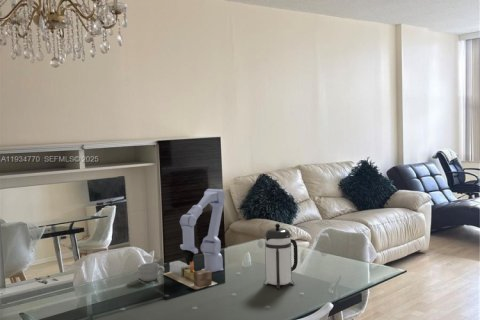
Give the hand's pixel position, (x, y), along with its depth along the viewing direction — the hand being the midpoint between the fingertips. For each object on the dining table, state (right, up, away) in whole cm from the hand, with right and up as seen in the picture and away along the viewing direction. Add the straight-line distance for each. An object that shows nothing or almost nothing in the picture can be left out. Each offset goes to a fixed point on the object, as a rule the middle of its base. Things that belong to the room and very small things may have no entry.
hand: (189, 264), depth 244 cm
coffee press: (+45, -8, -9) cm, 47 cm away
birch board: (0, -8, +1) cm, 8 cm away
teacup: (-19, -9, +2) cm, 21 cm away
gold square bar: (-1, -6, +3) cm, 7 cm away
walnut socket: (+8, -8, -9) cm, 14 cm away
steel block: (-6, -7, +8) cm, 12 cm away
